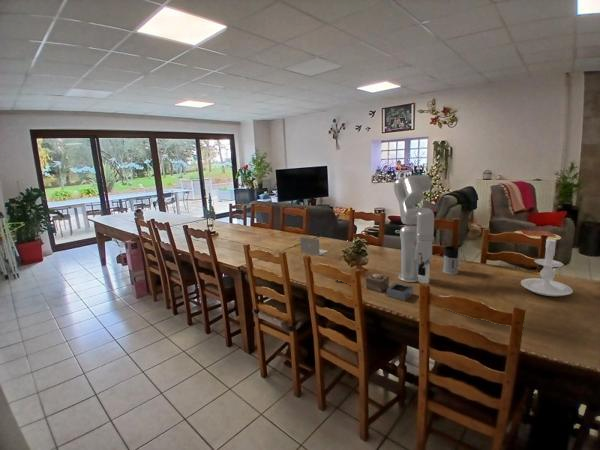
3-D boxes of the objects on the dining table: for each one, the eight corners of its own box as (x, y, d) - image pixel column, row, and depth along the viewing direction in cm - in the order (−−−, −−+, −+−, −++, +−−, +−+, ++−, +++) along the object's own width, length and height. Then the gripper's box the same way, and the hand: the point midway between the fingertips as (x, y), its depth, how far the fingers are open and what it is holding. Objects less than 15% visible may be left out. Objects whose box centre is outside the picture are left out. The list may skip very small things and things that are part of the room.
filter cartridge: (420, 278, 156) (421, 259, 154) (430, 280, 153) (431, 261, 151) (416, 282, 153) (417, 262, 151) (426, 284, 149) (427, 264, 147)
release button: (375, 283, 177) (375, 273, 175) (383, 285, 174) (383, 274, 172) (371, 285, 173) (371, 275, 172) (379, 287, 170) (379, 277, 169)
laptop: (328, 251, 244) (328, 235, 242) (319, 256, 235) (318, 239, 232) (310, 248, 256) (309, 233, 253) (300, 252, 246) (299, 236, 243)
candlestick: (578, 289, 158) (586, 235, 152) (566, 305, 143) (574, 247, 137) (529, 278, 174) (535, 229, 168) (514, 292, 159) (519, 239, 153)
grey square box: (374, 283, 180) (374, 273, 179) (388, 286, 174) (388, 276, 173) (366, 288, 174) (366, 278, 172) (381, 292, 168) (380, 281, 166)
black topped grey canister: (450, 268, 196) (451, 245, 192) (469, 275, 182) (470, 251, 179) (439, 270, 193) (440, 247, 190) (457, 278, 180) (458, 253, 177)
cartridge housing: (395, 289, 170) (395, 282, 169) (413, 294, 163) (413, 286, 163) (386, 296, 163) (386, 289, 162) (405, 301, 156) (405, 293, 155)
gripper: (423, 232, 157) (422, 266, 161) (409, 240, 144) (409, 277, 148) (439, 234, 152) (437, 269, 156) (426, 242, 140) (425, 280, 143)
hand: (423, 272), depth 152 cm, fingers closed on filter cartridge, 5 cm apart
